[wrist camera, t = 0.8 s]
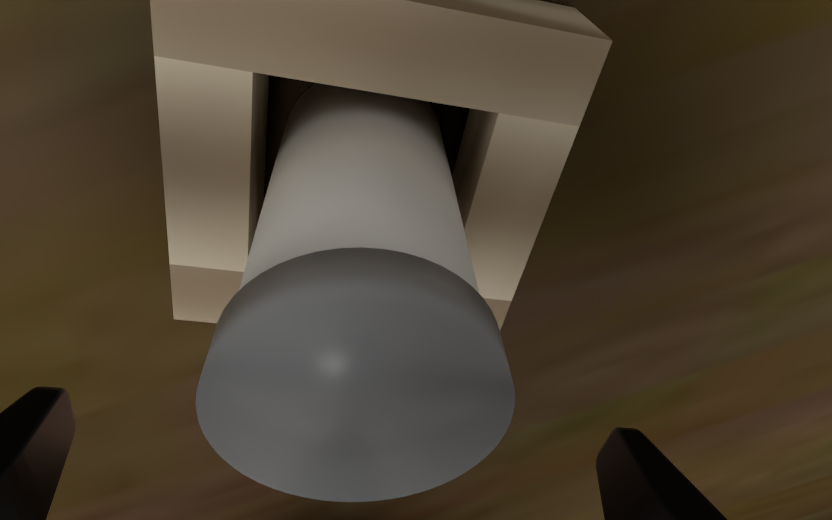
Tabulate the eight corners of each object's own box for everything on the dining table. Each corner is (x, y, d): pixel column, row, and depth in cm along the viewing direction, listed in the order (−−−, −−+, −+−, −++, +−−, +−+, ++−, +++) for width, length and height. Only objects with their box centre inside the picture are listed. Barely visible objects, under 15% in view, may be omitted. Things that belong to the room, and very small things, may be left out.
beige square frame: (478, 289, 21) (493, 348, 19) (197, 259, 19) (173, 319, 17) (574, 7, 15) (612, 40, 13) (185, -72, 14) (145, -51, 11)
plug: (429, 228, 19) (470, 507, 11) (272, 208, 18) (199, 496, 11) (466, 79, 16) (558, 317, 8) (281, 47, 15) (189, 279, 7)
